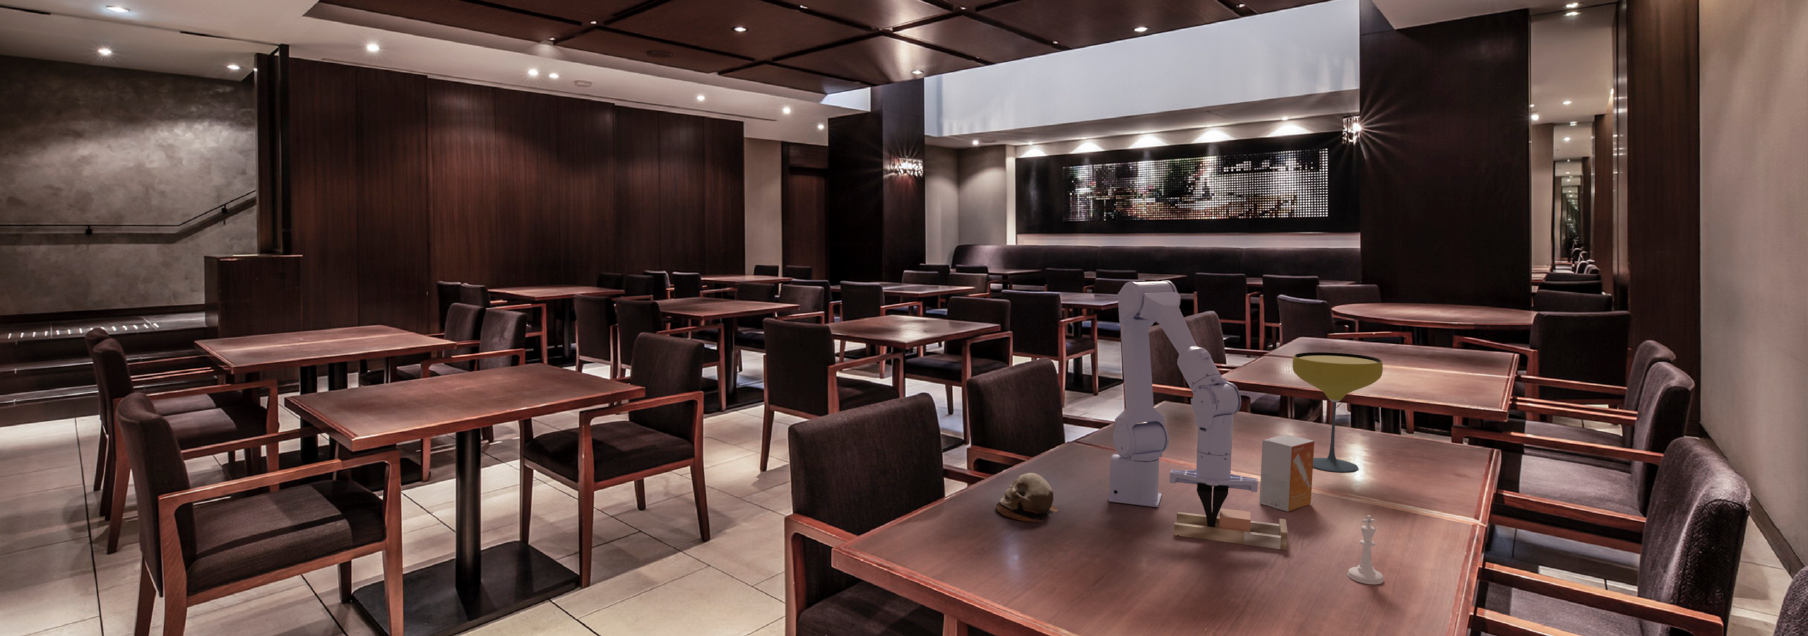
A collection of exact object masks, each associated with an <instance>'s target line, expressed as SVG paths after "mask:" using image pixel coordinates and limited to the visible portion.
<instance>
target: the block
mask: <svg viewBox="0 0 1808 636" xmlns="http://www.w3.org/2000/svg"><path fill="white" fill-rule="evenodd" d="M1251 512H1252V511H1248V510H1247V511H1246V510H1240V509H1238V510H1237V509H1231V508H1230V509H1228V508H1222V507H1221V508H1220V510H1219V517H1220V523H1219V528H1223V529H1231V530H1239V531H1247V532H1250V525H1251V521H1252V519H1251V517H1252V515H1251V514H1252V513H1251Z"/></svg>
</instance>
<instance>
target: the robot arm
mask: <svg viewBox="0 0 1808 636" xmlns="http://www.w3.org/2000/svg"><path fill="white" fill-rule="evenodd" d="M1117 303H1118V304H1117V306H1118V320H1119V324H1120V339H1121V354H1122V367H1123V383H1124V397H1125V398H1124V399H1125V400H1124V401H1125V409H1124V410H1122V412H1120V414H1119V415H1118V416H1116V417H1115V418H1114V431H1113V435H1112V442H1113V447H1114V449H1115V450H1116V452H1117V453H1112V454H1111V457H1110V463H1109V464H1110V465H1109V483H1108V484H1109V485H1108V489H1109V491H1108V492H1109V495H1108V502H1110V503H1111V502H1112V503H1119V504H1127V505H1134V506H1135V505H1136V506H1143V507H1144V506H1145V507H1152V508H1159V504H1160V501H1161V499H1162V493H1161V492H1159V477H1160V476H1159V474H1160V470H1159V469H1160V458H1162V457H1163V453H1164V452H1165V451H1166V450H1167V449H1168V446H1169V443H1170V436H1169V432H1168V429H1167V426H1166V422H1165V416H1164V415H1163V414H1162V413H1160V411H1158V410H1157V409H1156V408H1155V405H1154V391H1153V390H1154V389H1153V377H1152V376H1153V375H1152V363H1151V362H1152V361H1151V360H1152V359H1151V349H1150V348H1151V347H1150V345H1151V344H1150V334H1149V333H1150V332H1149V331H1150V328H1152V326H1153V325H1154V323H1158V324H1159V326H1160V327H1161V329H1162V331H1163V332H1164V334H1165V335H1166V337H1167V338H1168V340H1169V341H1170V343H1171V344H1172V346H1173V347H1174V348H1175V350H1176V351H1177V353H1178V357H1177V362H1176V364H1177V366H1178V368H1179V370H1180V372H1181V374H1182V376H1183V378H1184V379H1185V382H1186V383H1187V384H1188V387H1189V388H1190V391H1191V393H1192V394H1193V396H1192V397H1191V398H1190V404H1191V409H1192V411H1193V413H1194V416H1195V417H1194V419H1195V421H1194V422H1195V424H1196V426H1197V439H1196V440H1197V441H1196V442H1197V444H1196V445H1197V446H1196V468H1195V469H1196V470H1195V469H1194V470H1193V469H1189V470H1187V469H1170V472H1169V483H1172V484H1176V483H1179V484H1180V483H1182V484H1189V485H1196V493H1197V496H1198V497H1199V499H1200V502H1201V504H1202V506H1203V510H1204V515H1206V518H1207V527H1215V523H1216V519H1217V517H1219V516H1218V515H1219V514H1220V508H1222V506H1223V504H1224V502H1225V500H1226V499H1227V497H1228V495H1229V489H1233V490H1234V489H1236V490H1245V491H1250V492H1252V493H1258V488H1259V486H1258V482H1259V481H1258V478H1257V477H1250V476H1249V477H1248V476H1245V475H1244V476H1243V475H1240V474H1234V473H1231V471H1232V470H1231V469H1232V448H1233V425H1234V424H1233V423H1234V415H1235V414H1237V413H1239V411H1240V409H1241V406H1242V397H1241V396H1242V395H1241V392H1240V391H1239V388H1238V387H1237V385H1235V383H1233V382H1229V381H1228V380H1227V378H1225V377H1223V376H1222V374H1221V372H1220V371H1219V369H1218V368H1217V366H1216V364H1215V363H1214V361H1213V359H1212V356H1211V354H1210V352H1209V351H1208V350H1207V349H1206V348H1204V347H1200V346H1198V345H1197V344H1196V341H1195V340H1194V337H1193V335H1192V333H1191V330H1190V329H1189V327H1188V324H1187V322H1186V320H1185V317H1184V314H1182V311H1181V308H1180V305H1181V294H1179V292H1178V290H1177V287H1176V285H1175V284H1174V283H1173V282H1172V281H1170V280H1167V279H1166V280H1161V281H1127V282H1126V283H1124V285H1123V286H1122V287H1121V289H1120V291H1118V293H1117Z"/></svg>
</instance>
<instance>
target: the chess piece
mask: <svg viewBox="0 0 1808 636" xmlns="http://www.w3.org/2000/svg"><path fill="white" fill-rule="evenodd" d="M1375 521H1376V520H1375V519H1373V518H1372V515H1369V514H1368V515H1366V518H1362V523H1363V525H1361V526H1360V530H1361V534H1362V537H1363V539H1360V540H1359V541H1358V542H1359V544H1361V545H1362V548H1363V549H1362V554H1361V558H1360V562H1359V564H1358V565H1357V566H1353V567H1350V568H1349V569H1348V571H1347V577H1348V578H1350V579H1351V580H1353V581H1355V582H1357V583H1361V584H1366V585H1380V584H1383V583H1384V575H1383V574H1382V573H1381V572H1380V571H1377V570H1376V569H1375V567H1374V566H1373V561H1372V548H1371V547H1375V546H1376V543H1375V541H1374V540H1372V539H1373V537H1374V536H1375V533H1376V528H1375V527H1374V526H1372V525H1371V524H1374V523H1376V522H1375ZM1364 524H1365V525H1364Z"/></svg>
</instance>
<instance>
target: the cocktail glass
mask: <svg viewBox="0 0 1808 636" xmlns="http://www.w3.org/2000/svg"><path fill="white" fill-rule="evenodd" d="M1383 369H1384V366H1383V361H1382V359H1380V358H1377V357H1373V356H1368V355H1362V354H1356V353H1355V354H1354V353H1347V352H1346V353H1345V352H1328V351H1327V352H1325V351H1323V352H1322V351H1321V352H1320V351H1318V352H1317V351H1315V352H1313V351H1312V352H1311V351H1310V352H1300V353H1296V354H1295V355H1293V358H1292V371H1293V372H1294V374H1295V375H1296V376H1297V377H1298V378H1299V379H1301V380H1303V381H1304V382H1305V383H1307V384H1309V385H1311V386H1313V387H1314V388H1316V389H1318V390H1320V391H1321V392H1322V393H1324V394H1325V396H1326V397H1327V399H1328V400H1329V401H1330V402H1332V417H1331V432H1330V433H1331V435H1330V436H1331V437H1330V446H1329V452H1328V456H1327V457H1313V469H1316V470H1320V471H1325V472H1333V473H1352V472H1356V471H1358V469H1359V467H1358V465H1357V464H1355V463H1353V462H1351V461H1347V460H1345V459H1344V460H1343V459H1338V458H1337V457H1336V453H1335V433H1336V413H1337V412H1336V411H1337V403H1339V402H1340V401H1342V400H1343V399H1344V398H1345V396H1346V395H1348V394H1351V393H1352V392H1354V391H1357V390H1361V389H1363V388H1366V387H1369V386H1371V385H1373V384H1374V383H1376V382H1378V380H1380V379H1381V377H1382V375H1383Z"/></svg>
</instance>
